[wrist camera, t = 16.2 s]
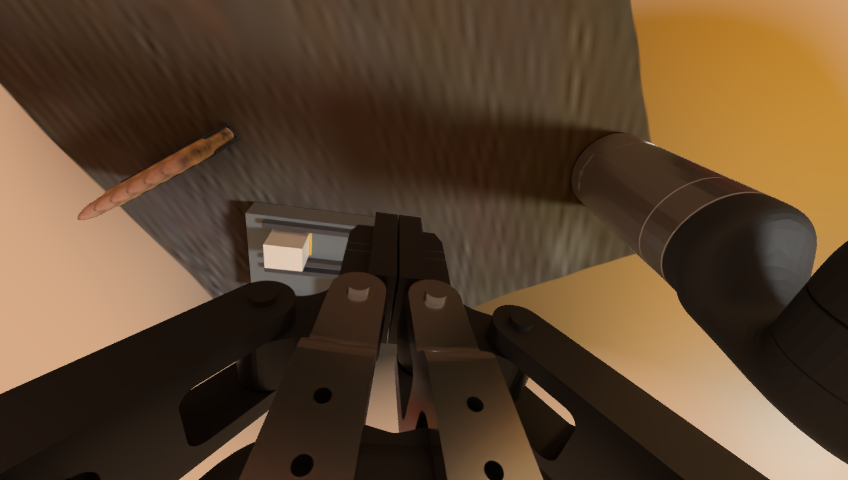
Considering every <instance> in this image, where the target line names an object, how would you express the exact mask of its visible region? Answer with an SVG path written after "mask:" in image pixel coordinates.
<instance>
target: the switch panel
mask: <svg viewBox="0 0 848 480" xmlns="http://www.w3.org/2000/svg"><path fill="white" fill-rule="evenodd" d="M245 215H246V227H247V239H248V251H249V263H250V275H251V283H252V282H257V281H265V280H268V281H278V282H281V283H284V284H286V285H288V286H290V287H291V288H292V289H293V290H294V292H295V294H296V297H298V296H306V295H313V294H317V293H321V292H323V291H326V290H328V289H329V287H330V285H331V283H332V281H333V280H334V279H335V278H336V277H338V276H339V273H340V269H341V265H342V261H343V257H344V253H345V250H346V245H347V242H348V237H349V233H350V231H351V230H352V229H353V228H355V227H356V226H357V225H358V224H359V225H368V226H374V224H375V217H371V216H363V215H355V214H347V213H339V212H331V211H323V210H315V209H308V208H300V207H292V206H284V205H276V204H268V203H260V202H254V203H253V205H252V206H251V207H250V208H249V209H248V210H247V212H246V213H245ZM421 224H422V223H421ZM273 229H274V230H282V231H291V232H299V233H308V234H309V256H308V259H307V261H306V264H305V266H304V269H303V271H302V272H300V271H290V270H280V269H271V268H264V252H263V244H264V242H265V241H266V239H267V238H268V236H269V234H270V233H271V231H272V230H273ZM422 232H423V226H422Z"/></svg>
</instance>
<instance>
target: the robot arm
mask: <svg viewBox="0 0 848 480" xmlns="http://www.w3.org/2000/svg"><path fill="white" fill-rule="evenodd" d="M571 184H572V189H573V191H574V194H575V196H576V197H577V198H578V199H579V200H580V201H581V202H582V203H583V204H584V205H585V206H586V207H587V208H588V209H589V210H590V211H591V212H592V213H593V214H594V215H595V216H597V217H598V218H599V219H600V220H601V221H602V222H603V223H604V224H605V225H606V226H607V227H608V228H609V229H610V230H612V231H613V232H614V233H615V234H616V235H617V236H618V237H619V238H620V239H621V240H622V241H623V242H624V243H625V244H627V245H628V246H629V247H630V248H631V249H632V250H633V251H634V252H635V253H636V254H637V255H638V256H640V258H642V259H643V260H644V261H645V262H646V263H647V264H648V265H649V266H650V267H651V268H652V269H653V270H655V271H656V272H657V273H658V274H659V275H660V276H661V277H662V278H663V279H664V280H665V281H666V282H667V283H668V284H669V285H670V286H671V287H672V288H673V289H675V291H676V292H677V295H678V298H679V301H680V303H681V304H682V306H683V308H684V309H685V310H686V312H687V313H688V314H689V315H690V316H691V317H692V318H693V319H694V321H695V322H696V323H697V324H698V325H699V326H700V327H701V328H702V329H703V330H704V331H705V332H706V333H707V334H708V336H709V337H710V338H711V339H712V340H713V341H714V342H715V343H716V344H717V345H718V346H719V348H720V349H721V350H722V351H723V352H724V353H725V354H726V355H727V356H728V358H729V359H730V360H731V361H732V362H733V363H734V364H735V365H736V366H737V368H738V369H739V370H741V372H742V373H743V374H744V375H745V376H746V378H747V379H748V380H749V381H750V382H751V383H752V384H753V385H754V386H755V387H756V388H757V389H758V390H759V391H760V392H761V393H762V395H763V396H764V397H766V399H767V400H768V401H769V402H770V403H772V405H773V406H775V407H776V408H777V409H778V410H779V411H780V412H781V413H782V414H783V415H784V416H785V417H786V418H787V419H788V420H789V421H791V422H792V423H793V424H794V425H795V426H796V427H797V428H799V429H800V430H801V431H802V432H804V433H805V434H806V435H808V436H809V437H810V438H811V439H813V440H814V441H815V442H816V443H818V444H819V445H820V446H822V447H823V448H824V449H826V450H827V451H828V452H830V453H831V454H833V455H834V456H836V457H837V458H839V459H840V460H842V461H844V462H845V463H847V464H848V241H847V242H845V243H844V244H843V245H842V246H841V247H839V248H838V249H837V250H836V251H835V252H834V253H833V254H832V255H831V256H830V257H829V258H828V259H827V260H826V261H825V262H824V263H823V264H822V265H821V266H820V268H819V269H818V270H817V271H816V272H815V273H814V274H813V276H812V277H811V273H812V268H813V263H814V259H815V254H816V247H817V238H816V232H815V229H814V226H813V225H812V223H811V221H810V220H809V218H808V217H807V216H806V215H805V214H803V213H802V212H801V211H799V210H798V209H796V208H795V207H793V206H791V205H789V204H787V203H784V202H782V201H780V200H778V199H776V198H773V197H771V196H768V195H766V194H764V193H762V192H760V191H758V190H755V189H753V188H751V187H749V186H746V185H744V184H742V183H740V182H737V181H735V180H732V179H729V178H728V177H726V176H723V175H721V174H719V173H716V172H714V171H712V170H710V169H708V168H705V167H703V166H700V165H698V164H696V163H694V162H691V161H690V160H687V159H685V158H683V157H681V156H678V155H676V154H674V153H671V152H669V151H667V150H665V149H663V148H661V147H658V146H656V145H654V144H652V143H650V142H647V141H645V140H643V139H640V138H638V137H636V136H634V135H631V134H626V133H615V134H611V135H607V136H605V137H602V138H600V139H598V140H597V141H595V142H594V143H592V144H591V145H590V146H588V147H587V148H586V149H585V150H584V151H583V153H582V154H581V155H580V157H579V158H578V160H577V162H576V164H575V166H574V168H573V172H572V178H571ZM388 328H389V338H388V340H389V341H388V343H391V344H397V355H396V360H395V365H394V372H395V386H396V399H397V412H398V425H399V433H391V432H387V431H384V430H380V429H377V428H374V427H371V426H367V425H365V424H366V417H367V411H368V406H369V400H370V394H371V388H372V382H373V376H374V370H375V363H376V361H377V360H378V357H379V353H380V347H381V343H386V340H387V334H388ZM234 362H236V363H234ZM232 363H234V364H233V365H231V364H232ZM229 365H231V366H229ZM227 366H229V367H228V368H226V367H227ZM224 368H226V369H224ZM222 369H224V370H223V371H221V370H222ZM219 371H221V372H219ZM217 372H219V373H218V374H216V373H217ZM214 374H216V375H215V376H213V377H211V376H212V375H214ZM209 377H211V378H210V379H208V378H209ZM529 377H530V378H531V379H532V380H533V381H534V382H536V383H537V384H538V385H539V386H540V387H541V388H543V389H544V390H545V391H546V392H547V393H549V394H550V395H551V396H552V397H553V398H555V399H556V400H557V401H558V402H559V403H560V404H562V405H563V406H564V407H565V408H566V409H567V410H568V411H569V412H570V413H571V415H572V416H573V418H574V421H575V426H573V425H571V424H569V423H568V422H567V421H565V420H564V419H563V418H562V417H561V416H560V415H558V414H557V413H556V412H555V411H554V410H553V409H552V408H550V407H549V406H548V405H547V404H546V403H545V402H544V401H542V400H541V399H540V398H539V397H538V396H537V395H535V394H534V393H533V392H532V391H531V390H530V389H528V388H527V387H526V386H525V385H526V382H527V380H528V378H529ZM206 379H208V380H206ZM204 380H206V381H205V382H203V383H202V384H200V385H199V386H197V387H195V386H196V385H198V384H199V383H201V382H202V381H204ZM193 387H195V388H193ZM192 388H193V389H192ZM191 389H192V390H191ZM268 410H269V411H268ZM267 411H268V414H267V416H266V418H265V420H264V423H263V425H262V428H261V430H260V432H259V435H258V437H257V439H256V441H255V442H254V443H251V444H249V445H247V446H245V447H243V448H242V449H240V450H238V451H236V452H234V453H233V454H231V455H230V456H229V457H227V458H225V459H224V460H223V461H221V462H220V463H218V464H217V465H216V466H214V467H213V468H212V469H211V470H209V472H207V473H206V474H205V475H204V476H202V477H201V478H200V479H199V480H769V479H768V478H766V477H765V476H764V475H762V474H761V473H759V472H758V471H757V470H755V469H754V468H753V467H751V466H750V465H748V464H747V463H745V462H744V461H742V460H741V459H740V458H738V457H737V456H736V455H734V454H733V453H731V452H730V451H728V450H727V449H726V448H724V447H723V446H721V445H720V444H719V443H717V442H716V441H714V440H713V439H712V438H710V437H708V436H707V435H706V434H704V433H703V432H702V431H700V430H699V429H697V428H696V427H695V426H693V425H692V424H690V423H689V422H687V421H686V420H685V419H683V418H682V417H680V416H679V415H678V414H676V413H675V412H673V411H672V410H671V409H669V408H668V407H666V406H665V405H663V404H662V403H661V402H659V401H658V400H656V399H655V398H654V397H652V396H651V395H649V394H648V393H647V392H645V391H644V390H642V389H641V388H639V387H638V386H637V385H635V384H634V383H632V382H631V381H630V380H628V379H627V378H625V377H624V376H622V375H621V374H620V373H618V372H617V371H615V370H614V369H613V368H611V367H610V366H608V365H607V364H606V363H604V362H603V361H601V360H600V359H598V358H597V357H595V356H594V355H593V354H591V353H590V352H589V351H587V350H586V349H584V348H583V347H581V346H580V345H579V344H577V343H576V342H575V341H573V340H572V339H570V338H569V337H567V336H566V335H565V334H563V333H562V332H560V331H559V330H558V329H556V328H555V327H553V326H552V325H551V324H549V323H548V322H546V321H545V320H543V319H542V318H541V317H539V316H538V315H536V314H535V313H533V312H532V311H530V310H528V309H526V308H523V307H520V306H515V305H504V306H500V307H498V308H497V309H496V310H495V311H494V313H493V315H492V316H491V315H488V314H485V313H482V312H479V311H476V310H473V309H471V308H469V307H467V306H465V305H464V304H463V301H462V298H461V296H460V294H459V293H458V291H457V290H456V289H455V288H453V287H452V286H451V285H450V280H449V275H448V270H447V265H446V261H445V255H444V250H443V245H442V242H441V241H440V240H439V238H438V237H437V236H436V235H435V234H433V233H425V232H422V224H421V218H419V217H412V216H404V215H399V218H398V215H396V214H388V213H380V212H376V217H375V224H374V226H368V225H359V224H358V225H357V226H356V227H355V228H353V229H352V230H351V231H350V233H349V237H348V242H347V245H346V250H345V253H344V257H343V261H342V265H341V269H340V273H339V276H338V277H336V278H335V279H334V280H333V281H332V283H331V285H330V287H329V289H328V290H326V291H323V292H321V293H317V294H313V295H306V296H298V297H296V294H295V292H294V290H293V289H292V288H291V287H290V286H288V285H286V284H284V283H281V282H278V281H268V280H265V281H257V282H252V283H249V284H246V285H244V286H241V287H239V288H237V289H235V290H233V291H230V292H228V293H226V294H224V295H221V296H219V297H217V298H215V299H212V300H210V301H208V302H206V303H203V304H201V305H199V306H197V307H195V308H192V309H190V310H188V311H186V312H183V313H181V314H179V315H177V316H175V317H172V318H170V319H168V320H165V321H163V322H161V323H159V324H156V325H154V326H152V327H150V328H148V329H145V330H143V331H141V332H139V333H136V334H134V335H132V336H130V337H128V338H125V339H123V340H121V341H118V342H116V343H114V344H112V345H109V346H107V347H105V348H103V349H100V350H98V351H96V352H94V353H91V354H89V355H87V356H85V357H82V358H80V359H78V360H76V361H74V362H71V363H69V364H67V365H65V366H62V367H60V368H58V369H56V370H53V371H51V372H49V373H47V374H44V375H42V376H40V377H38V378H36V379H33V380H31V381H29V382H27V383H24V384H22V385H20V386H18V387H15V388H13V389H11V390H9V391H6V392H5V393H2V394H0V480H179V479H180V478H181V477H183V476H184V475H185V474H187V473H188V472H189V471H191V470H192V469H193V468H194V467H196V466H197V465H198V464H199V463H201V462H202V461H203V460H205V459H206V458H207V457H209V456H210V455H211V454H213V453H214V452H215V451H216V450H217V449H219V448H220V447H222V446H223V445H224V444H225V443H227V442H228V441H229V440H231V439H232V438H233V437H235V436H236V435H237V434H238V433H240V432H241V431H242V430H243V429H245V428H246V427H247V426H249V425H250V424H251V423H253V422H254V421H255V420H257V419H258V418H259V417H260V416H262V415H263V414H264V413H266V412H267Z"/></svg>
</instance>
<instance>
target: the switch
mask: <svg viewBox="0 0 848 480" xmlns="http://www.w3.org/2000/svg"><path fill="white" fill-rule="evenodd" d="M263 252H264V268H271V269H280V270H290V271H300V272H302V271H303V269H304V266H305V264H306V261H307V259H308V256H309V234H308V233H299V232H291V231H282V230H274V229H273V230H272V231H271V233H270V234H269V236H268V238H267V239H266V241H265V242H264V244H263Z"/></svg>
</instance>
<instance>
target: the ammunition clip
mask: <svg viewBox="0 0 848 480" xmlns="http://www.w3.org/2000/svg"><path fill="white" fill-rule="evenodd" d="M238 139H239V137H238V135H237V134H236V133H235V131H234V130H233V129H232V127H231V126H230V125H229V123H226V124H224V125H223V126H221V127H219V128H217V129H215V130H213V131H211V132H210V133H208V134H206V135H204V136H202V137H200V138H199V139H197V140H195V141H193V142H191V143H190V144H188V145H186V146H184V147H182V148H180V149H179V150H177V151H175V152H173V153H171V154H170V155H168V156H166V157H164V158H162V159H161V160H159V161H157V162H155V163H153V164H152V165H150V166H148V167H146V168H144V169H143V170H141V171H139V172H137V173H135V174H134V175H132V176H130V177H128V178H126V179H125V180H123V181H121V183H120V184H118V185H117V186H115V187H113V188H111V189H109V190H108V191H106V192H105V194H104V195H102V196H101V197H99V198H98V199H97V200H95V201H93V202H92V203H90V204H89V205H88V206H86V207H85V208H84V209H83V210H82V211H81V212H80V214H79V215H78V220H86V219H90V218H93V217H96V216H99V215H101V214H103V213H105V212H106V211H108V210H110V209H112V208H114V207H117V206H120V205H122V204H124V203H126V202H128V201H129V200H131V199H133V198H135V197H138V196H139V195H141V194H143V193H145V192H147V191H149V190H151V189H152V188H154V187H156V186H158V185H160V184H162V183H164V182H165V181H167V180H169V179H171V178H173V177H175V176H177V175H178V174H180V173H182V172H184V171H186V170H188V169H190V168H191V167H193V166H195V165H197V164H199V163H201V162H203V161H204V160H206V159H208V158H210V157H212V156H214V155H216V154H217V153H219V152H220V151H222V150H223V149H225V148H226V147H228V146H229V145H231V144H232V143H234V142H235V141H237V140H238Z"/></svg>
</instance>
